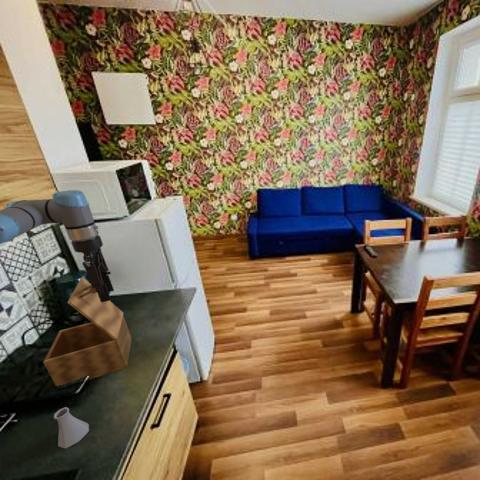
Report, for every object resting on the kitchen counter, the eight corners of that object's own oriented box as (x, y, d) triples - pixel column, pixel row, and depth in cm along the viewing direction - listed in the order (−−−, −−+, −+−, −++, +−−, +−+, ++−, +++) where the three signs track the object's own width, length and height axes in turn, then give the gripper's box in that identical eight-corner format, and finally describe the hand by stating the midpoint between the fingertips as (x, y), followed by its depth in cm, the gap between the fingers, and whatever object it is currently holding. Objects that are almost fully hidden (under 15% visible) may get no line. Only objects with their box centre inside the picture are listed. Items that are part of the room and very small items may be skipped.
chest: (58, 390, 92) (43, 362, 87) (72, 356, 106) (59, 330, 101) (127, 367, 101) (116, 341, 96) (131, 338, 115) (122, 314, 110)
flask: (83, 418, 83) (72, 396, 79) (94, 430, 80) (82, 408, 76) (53, 439, 77) (39, 417, 74) (63, 454, 74) (49, 431, 70)
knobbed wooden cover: (67, 302, 85) (87, 291, 86) (80, 278, 98) (98, 268, 100) (115, 340, 95) (133, 329, 97) (121, 313, 109) (137, 304, 111)
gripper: (93, 245, 82) (116, 307, 91) (104, 227, 97) (123, 281, 106) (61, 250, 79) (88, 314, 88) (78, 230, 94) (100, 286, 103)
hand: (107, 295), depth 97 cm, fingers closed on knobbed wooden cover, 6 cm apart
